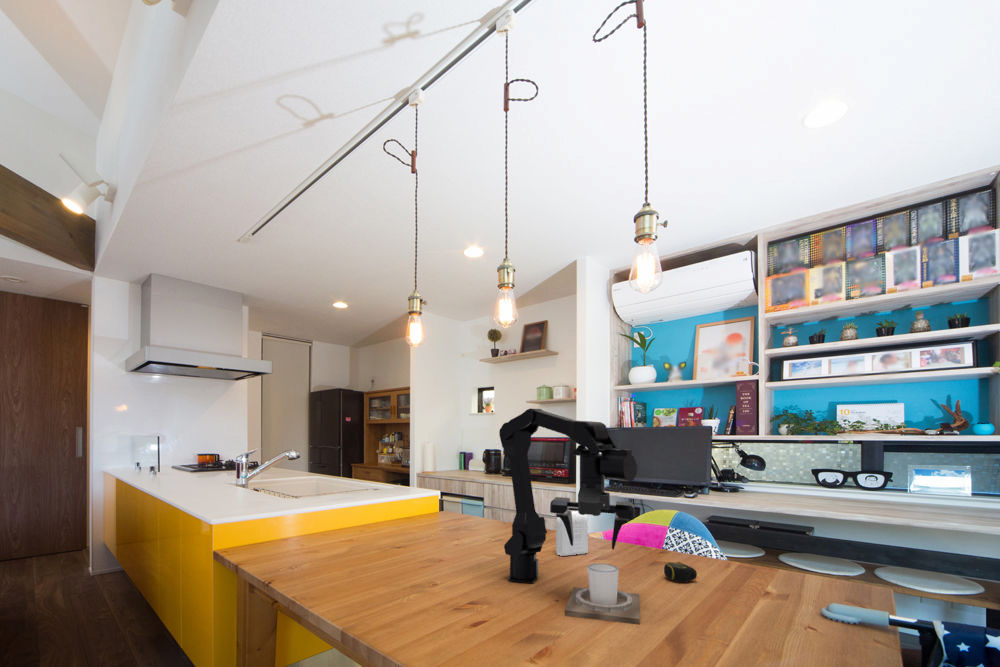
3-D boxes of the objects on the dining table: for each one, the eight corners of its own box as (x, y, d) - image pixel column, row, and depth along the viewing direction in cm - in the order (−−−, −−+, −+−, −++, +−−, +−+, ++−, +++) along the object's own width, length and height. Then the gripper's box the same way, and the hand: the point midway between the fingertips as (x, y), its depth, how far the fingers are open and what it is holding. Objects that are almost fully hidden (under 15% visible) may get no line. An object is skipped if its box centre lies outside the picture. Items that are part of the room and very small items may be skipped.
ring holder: (564, 615, 102) (564, 605, 103) (573, 591, 116) (573, 582, 117) (639, 624, 98) (639, 613, 99) (639, 598, 112) (639, 589, 113)
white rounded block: (582, 550, 153) (581, 509, 156) (590, 554, 150) (589, 511, 152) (553, 553, 149) (553, 511, 151) (561, 557, 145) (560, 513, 148)
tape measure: (698, 583, 124) (697, 567, 125) (675, 585, 122) (675, 569, 123) (681, 575, 131) (680, 560, 131) (659, 577, 129) (658, 562, 129)
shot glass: (584, 596, 111) (583, 563, 112) (614, 595, 111) (613, 562, 112) (592, 607, 104) (591, 572, 105) (623, 607, 104) (622, 571, 106)
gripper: (546, 478, 109) (545, 552, 107) (633, 483, 104) (634, 561, 102) (554, 472, 120) (553, 540, 117) (633, 477, 115) (634, 547, 112)
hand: (592, 547), depth 112 cm, fingers open, 9 cm apart
